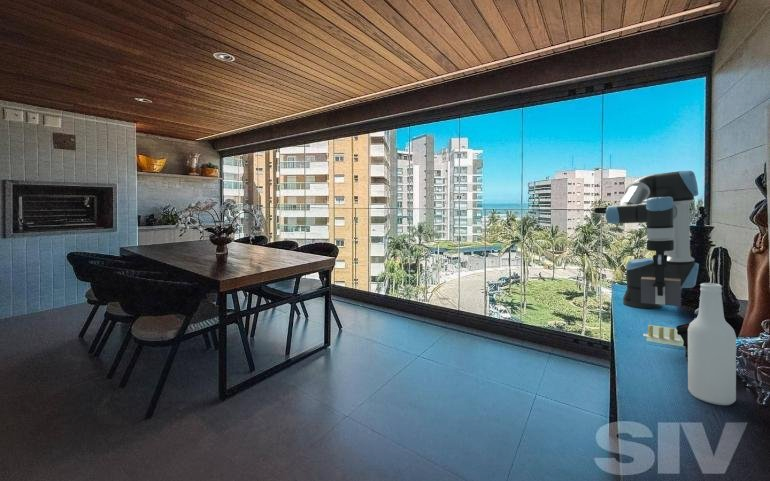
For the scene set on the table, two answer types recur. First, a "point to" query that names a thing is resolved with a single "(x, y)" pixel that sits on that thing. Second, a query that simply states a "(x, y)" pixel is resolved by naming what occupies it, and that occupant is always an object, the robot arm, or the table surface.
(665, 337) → the header board
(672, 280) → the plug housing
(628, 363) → the table surface
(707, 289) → the alcohol
